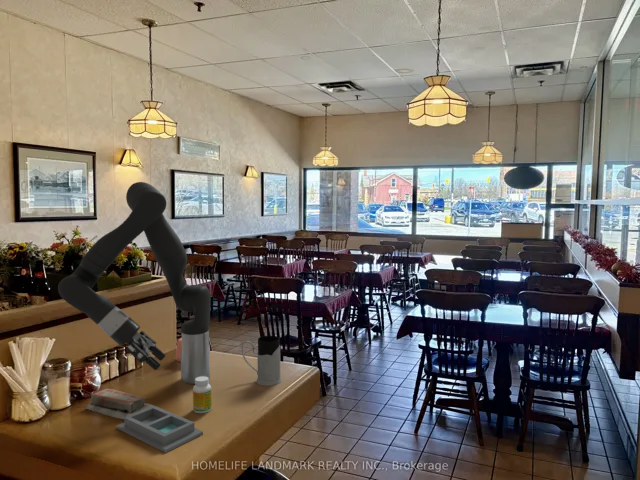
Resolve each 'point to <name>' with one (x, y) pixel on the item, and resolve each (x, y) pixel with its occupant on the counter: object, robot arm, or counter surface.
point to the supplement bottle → (202, 395)
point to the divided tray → (159, 428)
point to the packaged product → (117, 403)
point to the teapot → (179, 350)
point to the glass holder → (267, 360)
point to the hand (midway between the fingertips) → (160, 362)
